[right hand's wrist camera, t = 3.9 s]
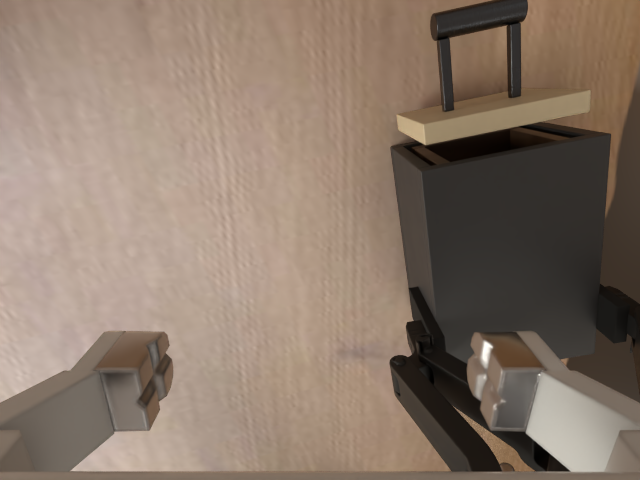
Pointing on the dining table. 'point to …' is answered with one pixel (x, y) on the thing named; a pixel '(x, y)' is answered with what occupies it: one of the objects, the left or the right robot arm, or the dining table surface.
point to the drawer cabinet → (509, 239)
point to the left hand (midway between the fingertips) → (486, 289)
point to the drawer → (487, 111)
